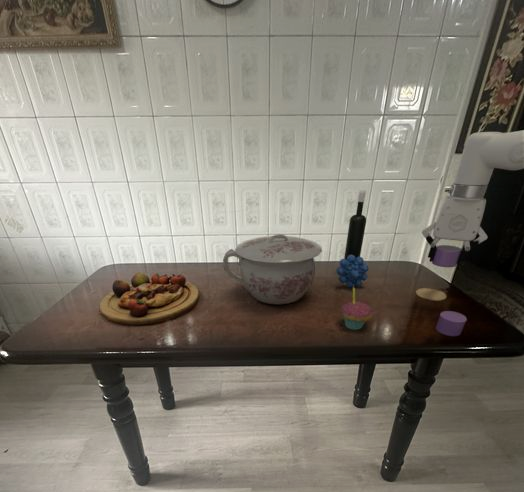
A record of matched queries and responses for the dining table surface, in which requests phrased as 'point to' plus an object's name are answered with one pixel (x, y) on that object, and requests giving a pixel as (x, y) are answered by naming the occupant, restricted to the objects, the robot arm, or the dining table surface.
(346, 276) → the grapes
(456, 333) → the short purple cylinder
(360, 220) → the wine bottle
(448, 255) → the purple cylinder
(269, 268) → the chamber pot
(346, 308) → the cupcake
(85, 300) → the dining table surface
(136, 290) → the wooden plate
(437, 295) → the coaster
